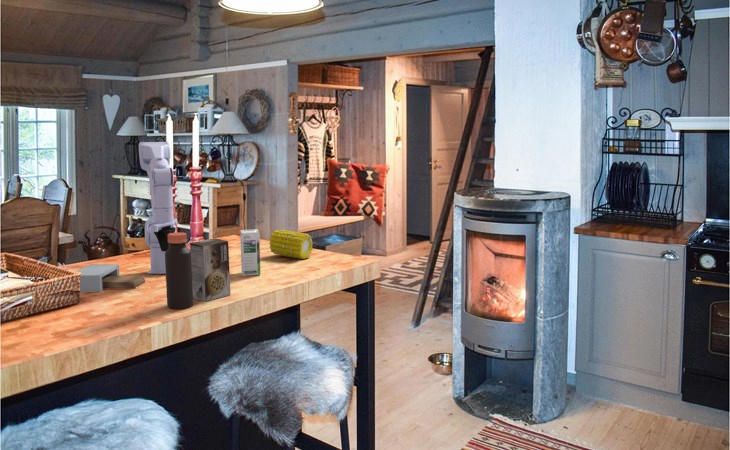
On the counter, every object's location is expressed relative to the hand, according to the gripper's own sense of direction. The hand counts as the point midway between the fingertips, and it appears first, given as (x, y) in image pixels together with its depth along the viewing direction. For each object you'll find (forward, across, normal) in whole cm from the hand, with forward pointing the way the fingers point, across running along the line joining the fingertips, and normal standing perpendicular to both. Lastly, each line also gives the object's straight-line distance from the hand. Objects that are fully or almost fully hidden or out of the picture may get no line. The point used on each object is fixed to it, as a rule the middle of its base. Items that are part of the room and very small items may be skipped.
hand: (165, 251), depth 201 cm
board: (+10, +6, -14) cm, 19 cm away
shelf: (+10, +7, -20) cm, 23 cm away
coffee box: (+10, +14, +20) cm, 26 cm away
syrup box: (+10, -15, +22) cm, 29 cm away
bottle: (+10, +24, +15) cm, 30 cm away
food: (+10, -42, +29) cm, 52 cm away
